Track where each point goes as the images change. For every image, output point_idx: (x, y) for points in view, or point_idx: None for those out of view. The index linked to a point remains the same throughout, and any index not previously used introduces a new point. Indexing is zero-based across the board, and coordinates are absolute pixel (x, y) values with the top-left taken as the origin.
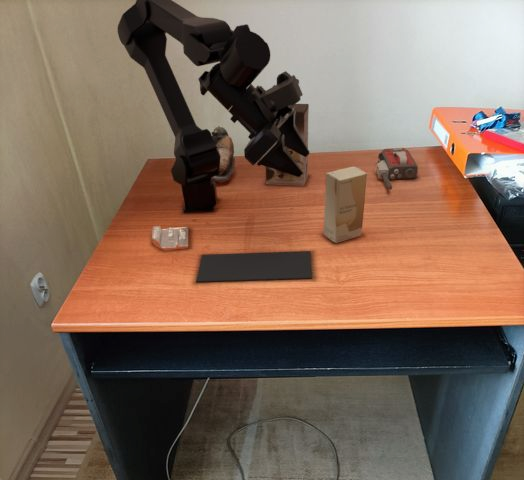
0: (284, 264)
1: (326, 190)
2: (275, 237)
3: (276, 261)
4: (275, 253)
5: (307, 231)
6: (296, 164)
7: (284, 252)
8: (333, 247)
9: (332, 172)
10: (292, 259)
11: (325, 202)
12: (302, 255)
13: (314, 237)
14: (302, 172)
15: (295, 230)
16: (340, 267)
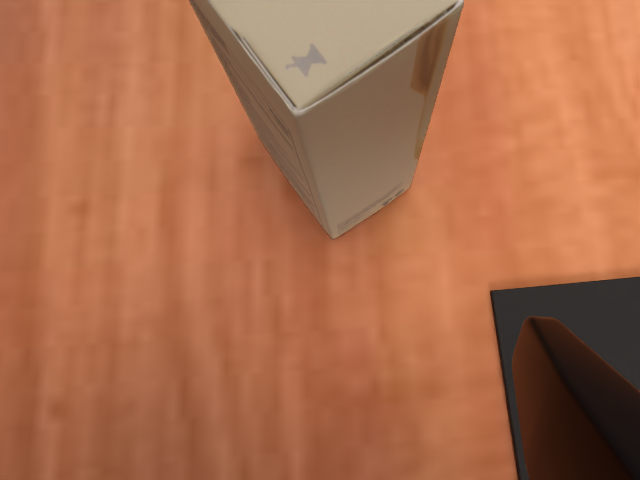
0: None
1: (325, 161)
2: (356, 469)
3: None
4: None
5: (294, 315)
6: (633, 403)
7: (516, 411)
8: (438, 194)
9: (297, 60)
10: None
11: (329, 191)
12: None
13: (351, 279)
14: (545, 317)
15: (284, 373)
16: (602, 161)
